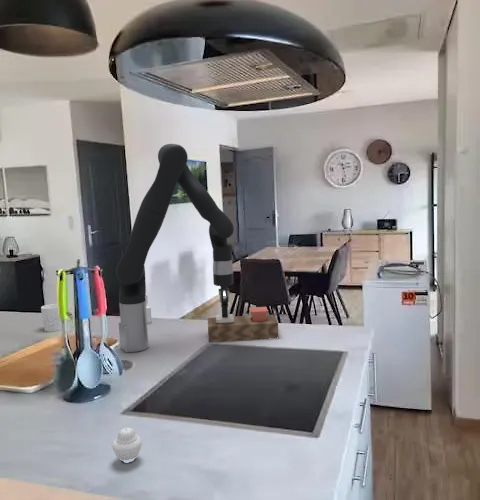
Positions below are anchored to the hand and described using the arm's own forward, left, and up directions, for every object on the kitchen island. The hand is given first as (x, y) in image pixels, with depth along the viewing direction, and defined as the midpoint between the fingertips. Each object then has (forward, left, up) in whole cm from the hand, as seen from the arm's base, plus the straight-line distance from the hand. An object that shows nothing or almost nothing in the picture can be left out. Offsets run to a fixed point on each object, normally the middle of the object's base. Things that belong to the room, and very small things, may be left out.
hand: (224, 316), depth 181 cm
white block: (0, 0, -6) cm, 6 cm away
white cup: (-50, +55, -8) cm, 75 cm away
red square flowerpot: (+11, -6, -3) cm, 13 cm away
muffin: (-61, -57, -8) cm, 84 cm away
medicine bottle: (-17, +40, -8) cm, 44 cm away
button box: (+6, -3, -8) cm, 10 cm away
